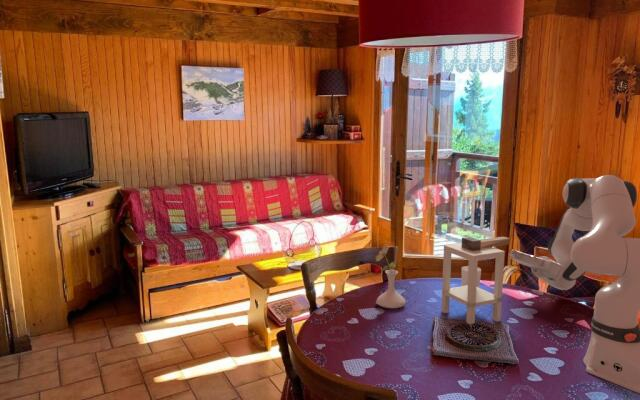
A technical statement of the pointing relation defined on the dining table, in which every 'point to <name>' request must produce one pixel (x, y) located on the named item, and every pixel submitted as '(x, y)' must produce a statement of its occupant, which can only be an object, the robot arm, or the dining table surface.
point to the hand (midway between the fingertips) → (521, 254)
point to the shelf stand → (473, 281)
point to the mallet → (483, 242)
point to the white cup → (465, 276)
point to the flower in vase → (390, 296)
